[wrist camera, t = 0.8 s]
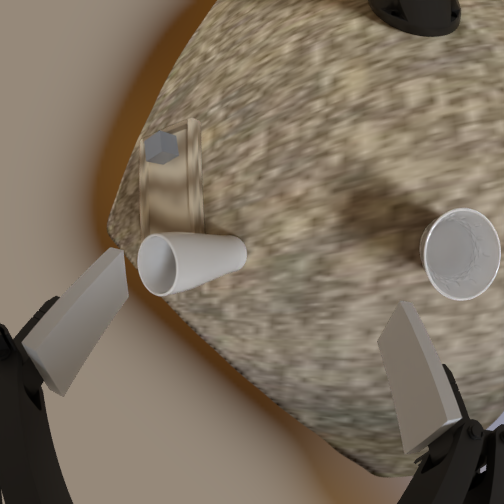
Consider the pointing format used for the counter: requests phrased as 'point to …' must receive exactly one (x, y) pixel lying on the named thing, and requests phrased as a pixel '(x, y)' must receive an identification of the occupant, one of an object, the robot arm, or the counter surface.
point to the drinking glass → (187, 260)
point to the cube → (161, 148)
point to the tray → (173, 185)
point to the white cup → (460, 253)
